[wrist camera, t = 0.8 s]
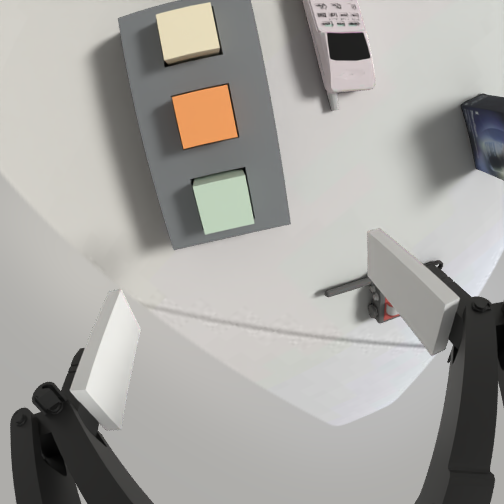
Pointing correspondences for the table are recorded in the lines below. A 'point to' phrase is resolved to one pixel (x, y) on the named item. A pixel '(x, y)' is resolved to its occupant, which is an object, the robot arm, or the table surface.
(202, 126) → the orange button
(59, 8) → the table surface
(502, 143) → the small box
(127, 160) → the table surface
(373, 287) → the walkie-talkie
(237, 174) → the sage button
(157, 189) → the button console
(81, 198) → the table surface
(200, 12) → the sand button
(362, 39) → the mobile phone
